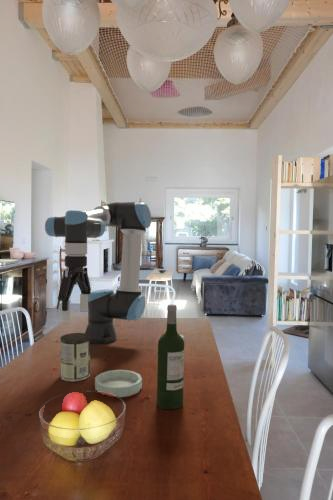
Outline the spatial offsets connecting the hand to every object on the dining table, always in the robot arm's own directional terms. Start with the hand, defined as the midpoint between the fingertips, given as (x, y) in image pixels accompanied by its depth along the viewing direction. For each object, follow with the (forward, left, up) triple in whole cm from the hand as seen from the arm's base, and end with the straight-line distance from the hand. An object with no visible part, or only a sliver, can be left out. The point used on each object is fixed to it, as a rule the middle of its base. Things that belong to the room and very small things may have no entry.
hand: (75, 315), depth 135 cm
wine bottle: (+12, +37, -22) cm, 44 cm away
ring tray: (+5, +18, -22) cm, 28 cm away
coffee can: (0, 0, -22) cm, 22 cm away
